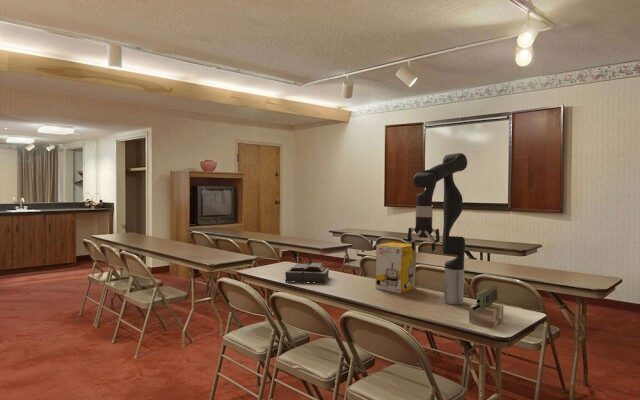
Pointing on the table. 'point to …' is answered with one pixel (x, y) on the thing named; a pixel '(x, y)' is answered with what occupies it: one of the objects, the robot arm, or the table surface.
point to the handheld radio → (486, 297)
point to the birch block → (486, 315)
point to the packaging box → (395, 267)
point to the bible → (307, 273)
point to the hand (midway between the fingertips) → (423, 250)
